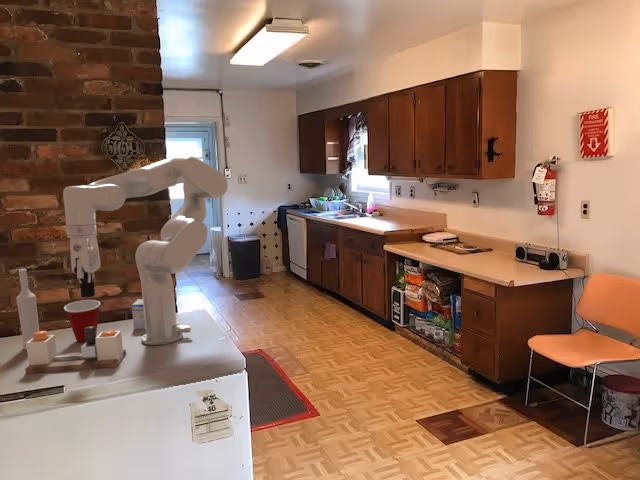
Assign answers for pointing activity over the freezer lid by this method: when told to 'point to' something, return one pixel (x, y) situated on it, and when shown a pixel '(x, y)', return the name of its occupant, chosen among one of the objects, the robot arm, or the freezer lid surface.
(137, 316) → the medicine box
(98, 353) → the pair of ball holders
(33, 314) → the bottle
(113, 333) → the ball
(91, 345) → the carriage
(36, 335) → the gauge button
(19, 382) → the freezer lid surface
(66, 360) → the rail board
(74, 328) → the plastic cup
